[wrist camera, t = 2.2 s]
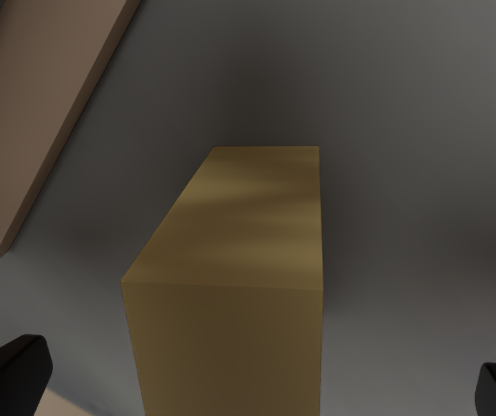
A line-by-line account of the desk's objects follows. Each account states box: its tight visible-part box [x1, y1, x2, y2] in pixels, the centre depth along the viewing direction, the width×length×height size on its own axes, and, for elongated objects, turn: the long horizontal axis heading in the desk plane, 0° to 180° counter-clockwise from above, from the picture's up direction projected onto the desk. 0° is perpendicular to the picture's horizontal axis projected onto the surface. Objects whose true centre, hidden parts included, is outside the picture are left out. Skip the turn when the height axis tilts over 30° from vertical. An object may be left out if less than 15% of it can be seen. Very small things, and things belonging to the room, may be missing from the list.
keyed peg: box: [120, 146, 323, 416], centre depth 11 cm, size 3×6×7 cm, turn 3°
